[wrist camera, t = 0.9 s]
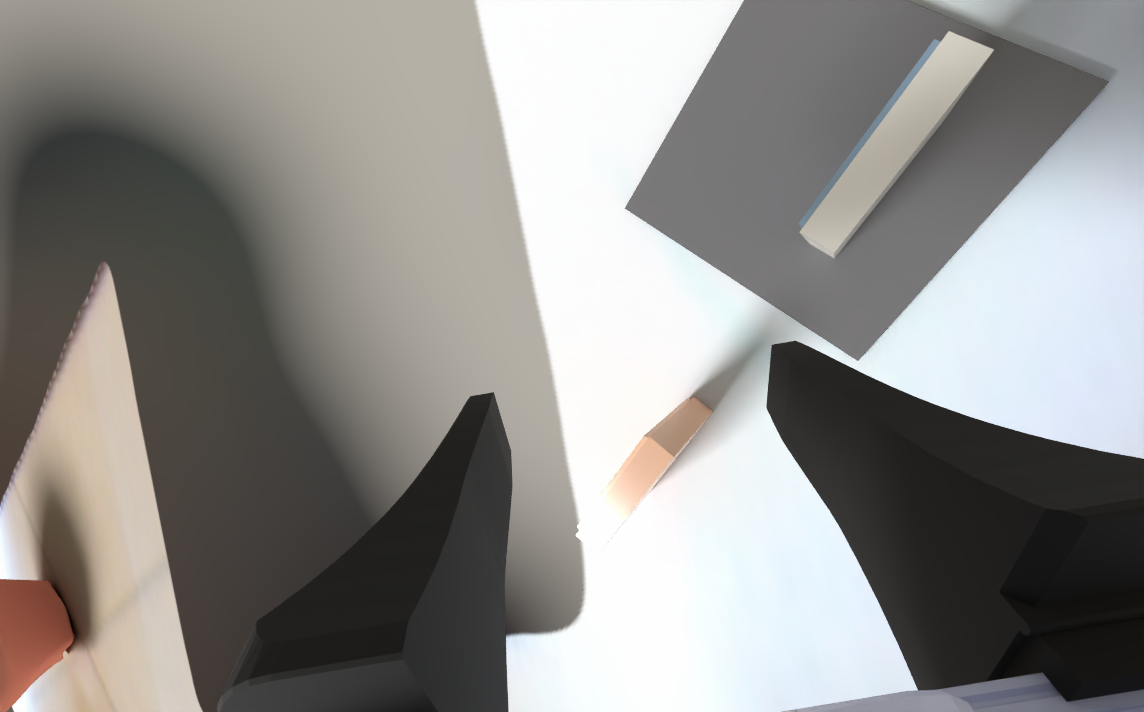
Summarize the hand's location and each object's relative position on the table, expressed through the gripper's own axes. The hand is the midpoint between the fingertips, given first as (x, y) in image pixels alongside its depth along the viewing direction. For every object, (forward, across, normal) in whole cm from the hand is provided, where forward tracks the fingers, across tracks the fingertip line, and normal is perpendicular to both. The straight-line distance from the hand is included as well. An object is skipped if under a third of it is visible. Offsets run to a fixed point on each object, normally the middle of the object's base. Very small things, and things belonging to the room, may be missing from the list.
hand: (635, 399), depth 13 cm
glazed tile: (+10, -12, -1) cm, 15 cm away
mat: (+11, -10, -2) cm, 16 cm away
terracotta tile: (+9, -3, +11) cm, 15 cm away
